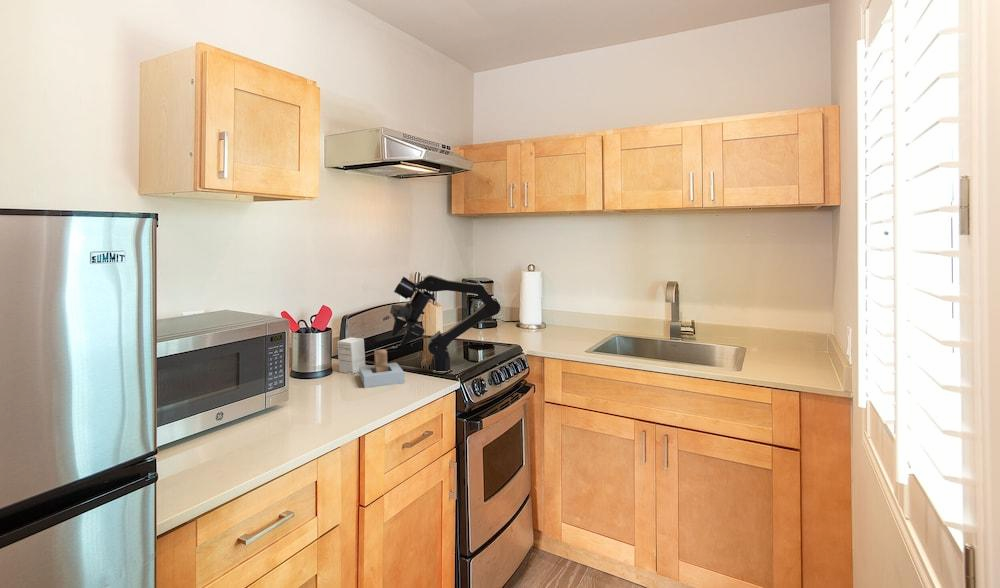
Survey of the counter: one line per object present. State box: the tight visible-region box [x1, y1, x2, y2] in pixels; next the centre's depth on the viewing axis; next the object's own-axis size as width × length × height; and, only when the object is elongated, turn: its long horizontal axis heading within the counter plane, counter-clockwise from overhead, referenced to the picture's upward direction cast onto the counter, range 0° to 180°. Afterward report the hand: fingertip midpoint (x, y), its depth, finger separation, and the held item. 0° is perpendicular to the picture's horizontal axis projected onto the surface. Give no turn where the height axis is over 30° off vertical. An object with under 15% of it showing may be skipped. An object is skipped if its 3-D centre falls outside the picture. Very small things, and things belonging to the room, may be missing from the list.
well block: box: [358, 362, 405, 389], centre depth 177 cm, size 14×14×4 cm
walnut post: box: [373, 348, 388, 373], centre depth 177 cm, size 4×4×10 cm
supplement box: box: [336, 337, 366, 375], centre depth 189 cm, size 7×7×13 cm
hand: (396, 340), depth 182 cm, fingers open, 9 cm apart
